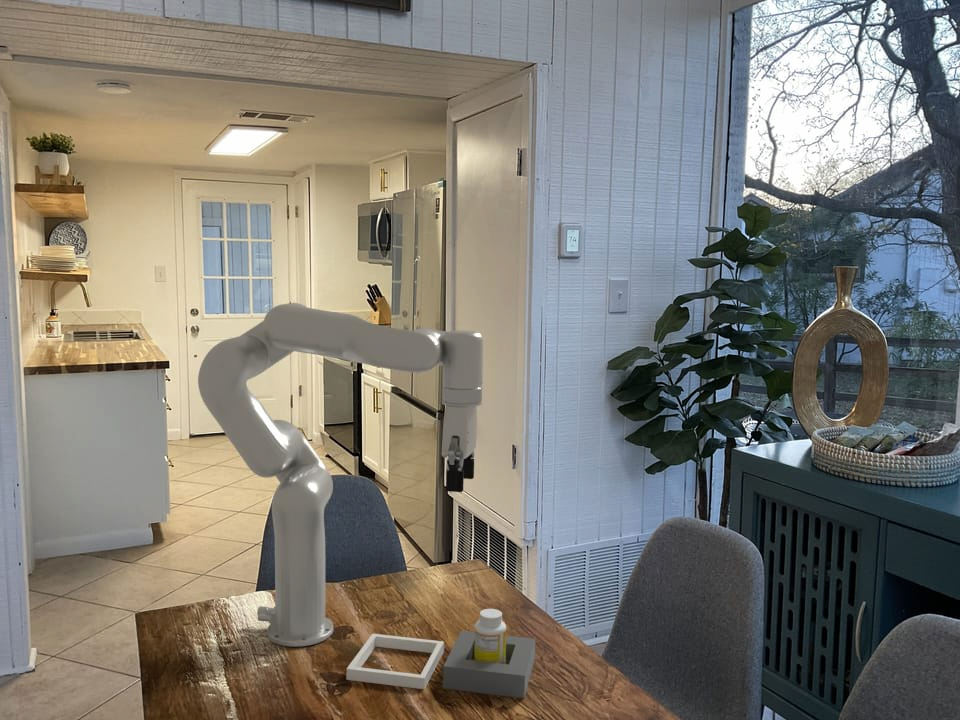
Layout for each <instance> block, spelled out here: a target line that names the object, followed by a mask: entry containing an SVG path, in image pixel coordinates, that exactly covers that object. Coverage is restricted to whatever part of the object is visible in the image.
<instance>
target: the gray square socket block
mask: <svg viewBox="0 0 960 720" xmlns="http://www.w3.org/2000/svg"><path fill="white" fill-rule="evenodd" d="M474 649H475V631H466V630H461V631H460V632H459V635H457V638H456V640H455V642H454V643H453V646H452V647H451V651H450V652H449V654H448V656H447V659H446V660H445V662H444V664H443V672H442V673H443V675H442V679H443V680H442V688H443V689H444V690H451V691H462V692H468V693H478V694H486V695H491V696H493V695H494V696H502V697H509V698H516V699H525V697H526V695H527V691H528V686H529V682H530V678H531V674H532V672H533V667H534V665H535V660H536V638H531V637H522V636H521V637H520V636H513V635H506V660H505V664H500V663H491V662H482V661H474Z"/></svg>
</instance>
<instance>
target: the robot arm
mask: <svg viewBox="0 0 960 720" xmlns="http://www.w3.org/2000/svg"><path fill="white" fill-rule="evenodd" d="M294 352H296V353H302V354H311V355H315V356H316V355H317V356H323V357H328V358H335V359H341V360H346V361H349V362H352V363H357V364H358V363H359V364H365V365H367V366H372V367H377V368H383V369H388V370H393V371H401V372H407V373H414V374H415V373H416V374H421V373H427V372H430V371H431V370H433V369H434V368H435V367H436V366H442V386H441V388H442V389H441V390H442V391H441V392H442V393H441V399H442V400H441V404H442V406H443V405H444V406H445V408H444V416H443V423H442V424H443V425H442V440H441V441H442V442H441V457H443V458H447V460H446V469H445V470H446V471H445V490H446V492H450V493H451V492H452V493H463V492H464V480H473V479H474V477H475V458H474V457H475V452H474V451H475V450H476V446H477V437H478V436H477V434H478V433H477V431H478V429H477V428H478V426H477V425H478V421H477V420H478V418H477V417H478V415H477V414H478V413H477V412H478V411H477V407H479V406H482V403H483V361H484V360H483V359H484V337H483V335H482V334H481V333H480V332H478V331H473V330H451V331H447V330H445V331H444V330H439V329H432V328H427V327H426V328H424V327H423V328H417V329H414V330H409V329H402V328H396V327H395V328H394V327H390V326H385V325H380V324H375V323H373V322H370V321H367V320H365V319H363V318H361V317H360V316H357V315H354V314H349V313H345V312H337V311H329V310H323V309H317V308H312V307H307V306H306V305H304V304H302V303H297V302H288V303H281V304H279V305H276V306H274V307H272V308H271V309H269V310H268V312H266V314H265V316H264V319H263V320H262V321H261V322H259V323H258V324H257V325H254V326H253V327H251V328H250V329H249V330H247V331H246V332H243V334H241V335H239V336H235V337H231V338H228V339H225V340H222V341H220V342H218V343H217V344H215V345H214V346H213V347H211V349H210V350H209V351H208V352H207V354H206V355H205V356H204V358H203V360H202V362H201V364H200V367H199V370H198V377H197V384H198V390H199V394H200V397H201V399H202V401H203V403H204V406H205V407H206V409H207V410H208V411H209V413H210V414H211V415H212V417H213V418H214V419H215V421H216V422H217V424H218V425H219V427H220V428H221V429H222V430H223V432H224V434H225V435H226V437H227V439H228V440H229V442H230V443H231V444H232V445H233V447H234V448H235V450H236V452H237V453H238V454H239V456H240V457H241V458H242V460H243V462H244V463H245V465H246V466H247V467H248V468H249V470H250V471H251V472H253V473H254V474H255V475H256V476H258V477H261V478H273V477H275V478H276V479H277V480H278V482H279V485H277V487H276V490H275V491H274V493H273V497H272V501H271V515H272V517H271V518H272V525H273V533H274V535H273V536H274V571H275V572H274V582H275V583H274V584H275V585H274V586H275V587H274V592H275V593H274V594H275V596H274V603H275V606H274V607H269V606H259V607H258V609H257V614H256V615H257V621H258V622H268V623H269V625H268V627H267V629H266V633H267V636H266V637H267V639H269V641H271V642H272V643H274V644H276V645H280V646H283V647H293V648H295V647H308V646H312V645H316V644H320V643H322V642H324V641H326V640H327V639H328V638H329V637H331V636H332V635H333V633H334V623H333V621H332V620H331V619H330V618H328V617H326V533H325V531H326V530H325V518H324V517H325V508H326V505H327V504H328V502H329V500H330V499H331V497H332V494H333V490H334V483H333V478H332V475H331V474H330V472H329V469H328V468H327V467H326V465H325V464H324V462H323V461H322V459H321V458H320V457H319V455H318V453H317V452H316V451H315V450H314V448H313V447H312V445H311V444H310V443H309V441H308V440H307V438H306V437H305V435H304V434H303V432H301V430H300V429H299V428H297V426H296V425H294V424H292V423H291V422H289V421H286V420H284V419H283V420H282V419H272V417H271V416H270V414H269V413H268V412H267V411H266V409H265V407H264V405H263V403H261V402H260V400H259V399H258V398H257V397H256V396H255V395H254V394H253V393H252V392H251V391H250V390H249V387H248V385H247V382H248V380H250V379H253V378H255V377H257V376H259V375H261V374H262V373H264V372H265V371H267V370H268V369H270V368H272V366H274V365H276V364H277V363H279V362H280V361H282V360H283V359H285V358H286V357H287V356H290V355H291V354H292V353H294Z"/></svg>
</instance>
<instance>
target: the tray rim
mask: <svg viewBox="0 0 960 720" xmlns="http://www.w3.org/2000/svg"><path fill="white" fill-rule="evenodd" d="M375 648H386V649H395V650H402V651H412V652H421V653H428V654H429V653H430V654H431V655H430V656H429V659H428V661H426V663H425V665H424V667H423V670H422V671H421V673H420V674H417V673H411V672H410V673H409V672H408V673H407V672H402V671H401V672H400V671H392V670H386V669H385V670H384V669H377V668H367V667H363V665H364V664H365V663H366V662H367V659H368V658H369V657H370V656H371V654H372V653H373V651H374V650H375ZM444 652H445V641H440V640H433V639H423V638H415V637H406V636H398V635H391V634H390V635H387V634H381V633H380V634H378V633H372V634H371V635H370V636H369V638H368V639H367V640H366V642H365V643H364V644H363V645H362V647H361V648H360V650H359V651H358V653H357V654H356V655H355V656H354V658H353V659H352V661H351V662H350V663H349V665H348V666H347V668H346V680H348V681H355V682H361V683H362V682H364V683H371V684H379V685H387V686H388V685H389V686H395V687H402V688H403V687H404V688H411V689H419V690H426V687H428V683H429V681H430V680H431V677H432V676H433V674H434V672H435V669H436V668H437V666H438V664H439V662H440V661H441V658H442V657H443V654H444Z"/></svg>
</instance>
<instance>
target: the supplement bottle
mask: <svg viewBox="0 0 960 720" xmlns="http://www.w3.org/2000/svg"><path fill="white" fill-rule="evenodd" d="M478 617H479V618H478V621H476V622H475V625H474V632H475V649H474V661H482V662H491V663H500V664H505V660H506V636H507V625H506V623H505V621H503V612H502V611H500V610H499V609H495V608H485V609H483V610H481V611H480V612H479V616H478Z"/></svg>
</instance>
